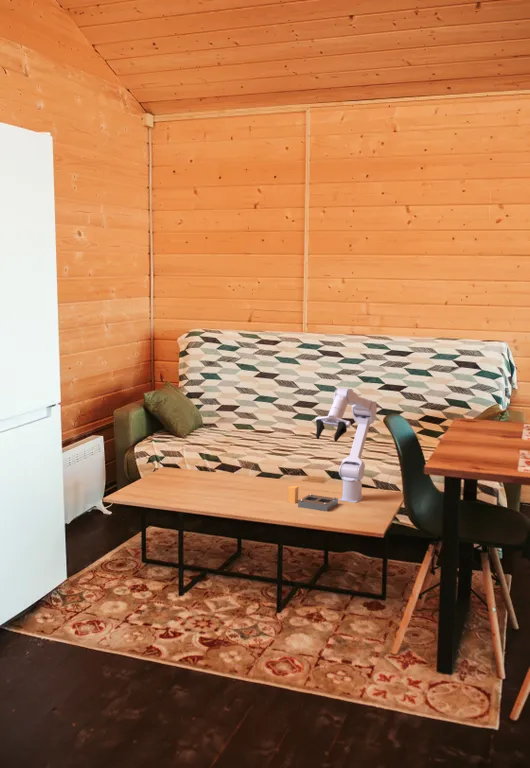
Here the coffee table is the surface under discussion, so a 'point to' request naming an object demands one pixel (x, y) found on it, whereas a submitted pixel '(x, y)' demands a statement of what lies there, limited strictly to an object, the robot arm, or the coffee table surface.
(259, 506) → the coffee table surface
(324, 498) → the grey mounting plate
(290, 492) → the orange rectangular block
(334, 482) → the coffee table surface
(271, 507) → the coffee table surface
